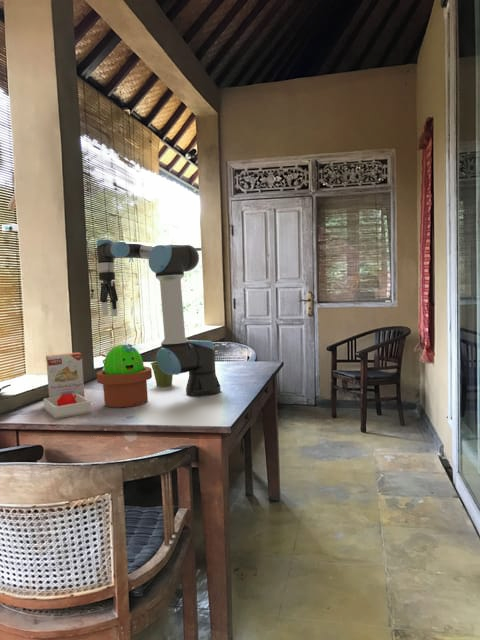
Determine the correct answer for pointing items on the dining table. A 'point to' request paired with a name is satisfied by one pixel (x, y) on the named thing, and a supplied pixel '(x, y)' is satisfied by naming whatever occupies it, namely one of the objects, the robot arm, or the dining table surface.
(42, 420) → the dining table surface
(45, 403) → the box
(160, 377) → the plant pot
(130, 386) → the potted cactus
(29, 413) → the dining table surface
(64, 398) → the apple
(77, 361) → the cracker box
